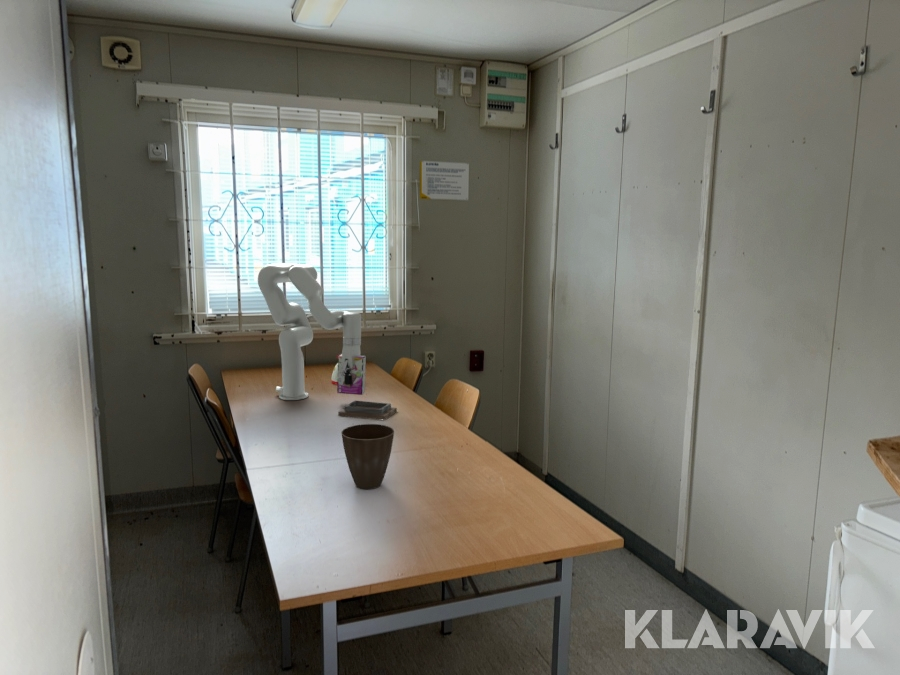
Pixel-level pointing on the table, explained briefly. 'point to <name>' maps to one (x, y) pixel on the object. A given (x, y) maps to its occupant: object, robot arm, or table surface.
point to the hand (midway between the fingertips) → (351, 382)
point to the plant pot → (367, 453)
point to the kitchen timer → (335, 374)
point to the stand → (368, 410)
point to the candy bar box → (357, 377)
